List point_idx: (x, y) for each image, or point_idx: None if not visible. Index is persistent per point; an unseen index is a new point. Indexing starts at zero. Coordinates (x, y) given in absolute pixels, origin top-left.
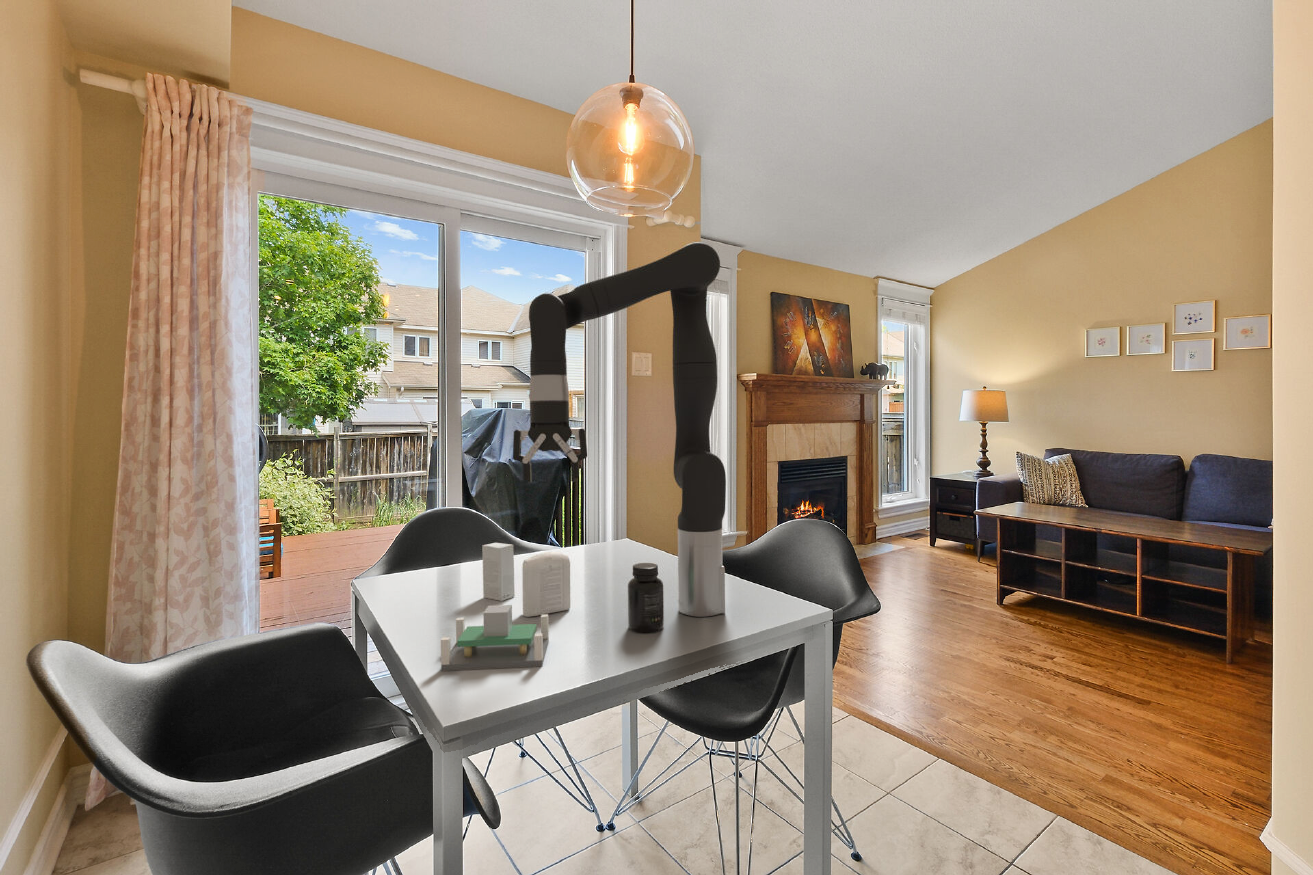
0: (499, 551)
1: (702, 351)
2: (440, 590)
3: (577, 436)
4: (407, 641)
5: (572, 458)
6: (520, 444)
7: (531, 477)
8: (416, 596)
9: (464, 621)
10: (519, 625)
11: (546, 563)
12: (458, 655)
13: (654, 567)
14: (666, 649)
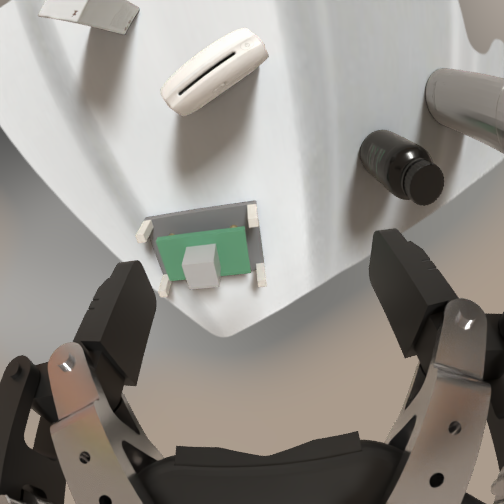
0: (79, 23)
1: None
2: (26, 22)
3: (493, 492)
4: (84, 209)
5: (423, 380)
6: (38, 473)
7: (133, 281)
8: (10, 57)
9: (144, 231)
10: (222, 235)
11: (218, 93)
12: None
13: (436, 199)
14: (391, 222)
